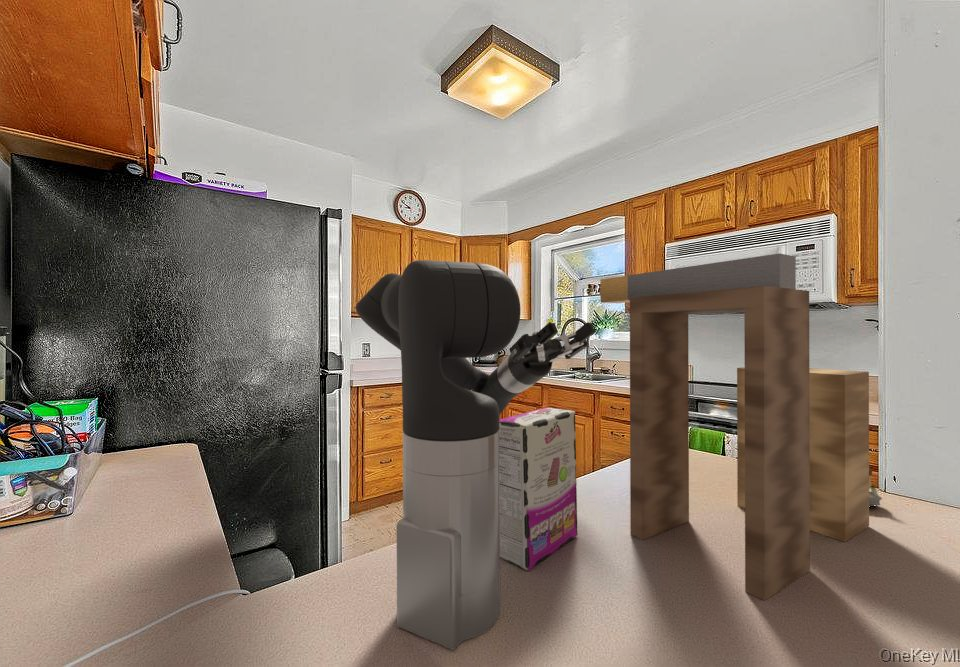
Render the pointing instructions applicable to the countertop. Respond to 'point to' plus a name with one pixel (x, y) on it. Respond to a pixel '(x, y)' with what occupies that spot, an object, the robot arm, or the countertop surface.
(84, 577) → the countertop surface
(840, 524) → the oak block
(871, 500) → the figurine
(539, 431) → the candy bar box
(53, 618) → the countertop surface
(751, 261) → the grey and wood bar
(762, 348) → the walnut bridge
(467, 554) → the robot arm
